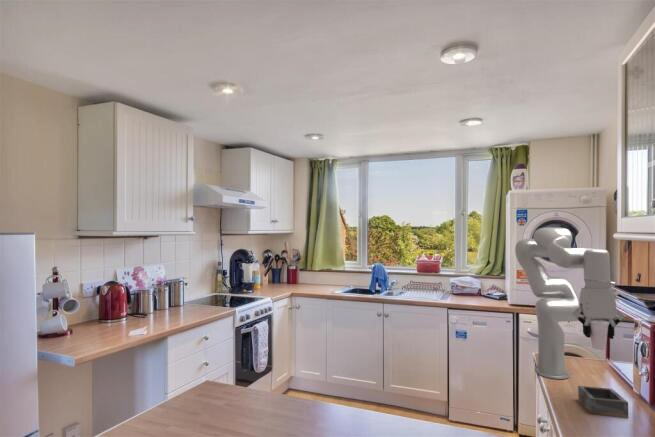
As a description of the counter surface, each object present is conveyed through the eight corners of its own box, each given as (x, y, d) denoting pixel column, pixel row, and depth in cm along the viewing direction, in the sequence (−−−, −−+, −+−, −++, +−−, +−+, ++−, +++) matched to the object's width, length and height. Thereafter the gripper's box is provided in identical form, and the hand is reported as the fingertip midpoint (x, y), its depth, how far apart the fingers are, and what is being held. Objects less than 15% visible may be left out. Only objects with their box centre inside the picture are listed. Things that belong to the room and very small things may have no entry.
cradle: (578, 399, 136) (578, 385, 136) (612, 403, 133) (612, 388, 133) (591, 414, 125) (591, 398, 125) (628, 418, 123) (628, 402, 123)
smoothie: (614, 351, 127) (613, 309, 127) (593, 350, 128) (591, 308, 129) (604, 346, 133) (603, 305, 134) (584, 345, 134) (583, 305, 135)
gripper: (620, 284, 133) (622, 336, 132) (565, 282, 137) (566, 332, 136) (631, 287, 126) (633, 342, 125) (573, 285, 130) (574, 338, 129)
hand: (598, 336), depth 131 cm, fingers closed on smoothie, 6 cm apart
